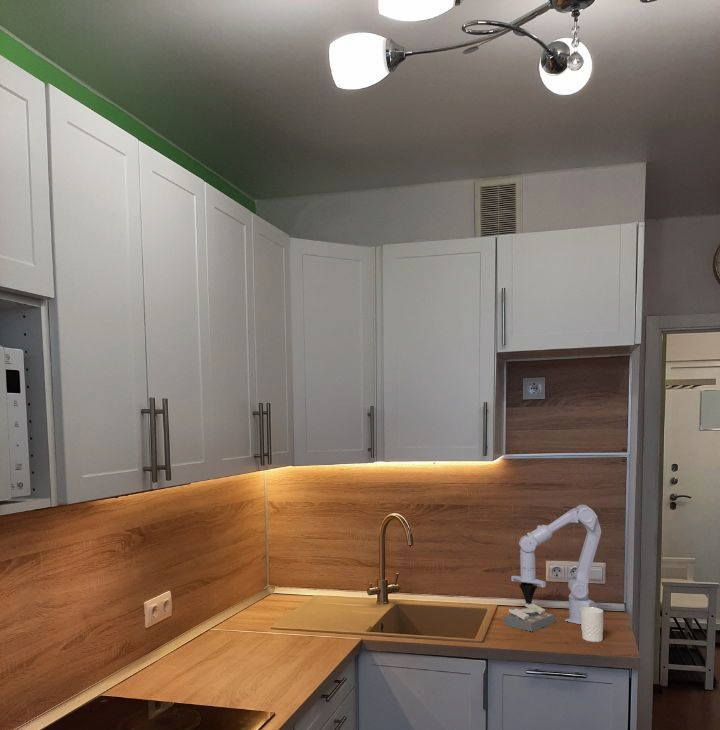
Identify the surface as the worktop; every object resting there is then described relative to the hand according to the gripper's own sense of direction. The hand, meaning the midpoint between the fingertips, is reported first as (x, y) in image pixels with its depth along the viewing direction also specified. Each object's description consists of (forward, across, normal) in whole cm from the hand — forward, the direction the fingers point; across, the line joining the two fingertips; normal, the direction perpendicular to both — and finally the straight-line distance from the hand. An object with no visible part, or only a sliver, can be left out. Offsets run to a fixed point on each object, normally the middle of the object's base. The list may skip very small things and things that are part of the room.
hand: (528, 603), depth 254 cm
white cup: (+6, +29, -4) cm, 30 cm away
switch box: (+6, +4, -6) cm, 9 cm away
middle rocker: (+2, +3, -6) cm, 6 cm away
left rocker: (+2, +3, -11) cm, 11 cm away
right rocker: (+2, +3, 0) cm, 3 cm away
